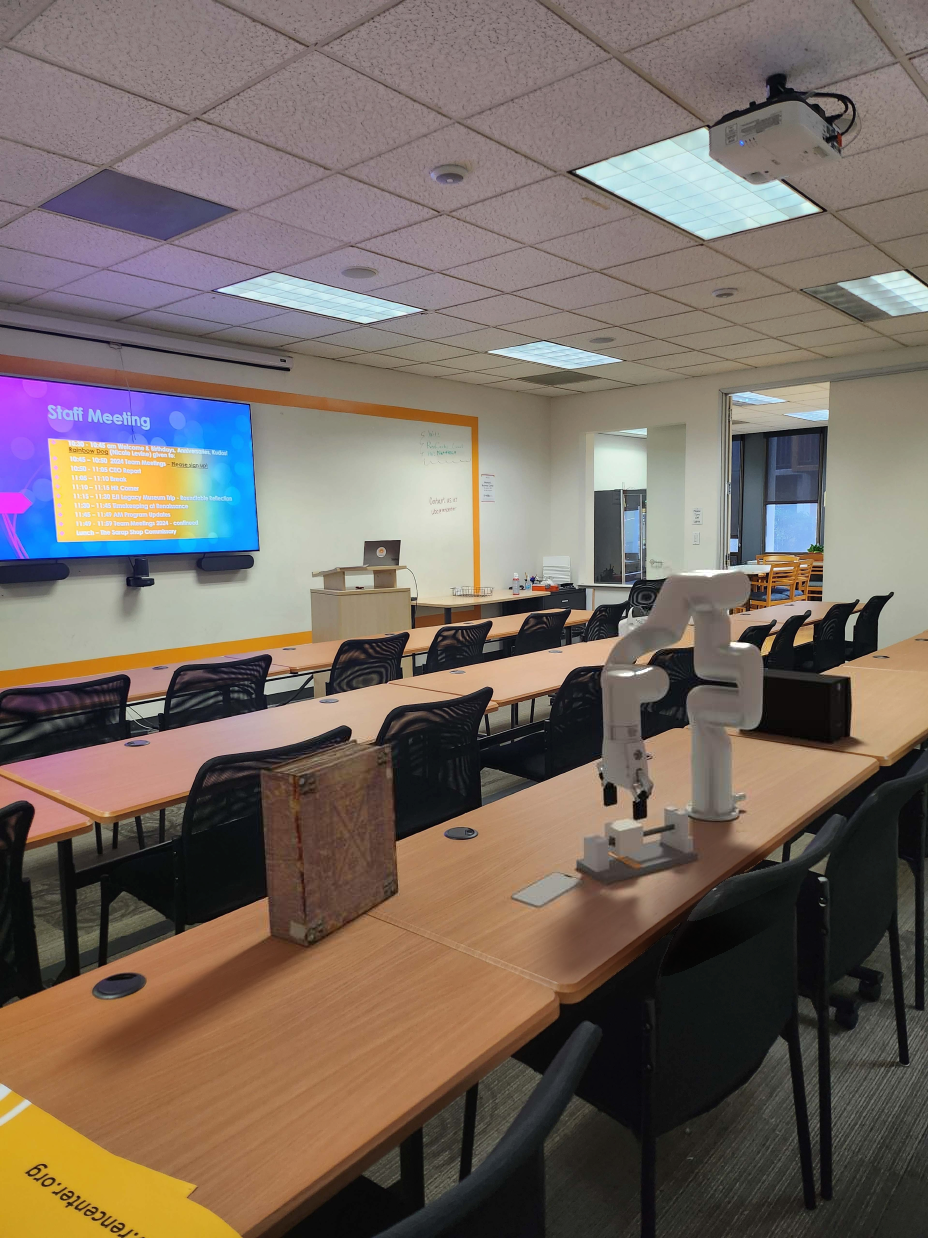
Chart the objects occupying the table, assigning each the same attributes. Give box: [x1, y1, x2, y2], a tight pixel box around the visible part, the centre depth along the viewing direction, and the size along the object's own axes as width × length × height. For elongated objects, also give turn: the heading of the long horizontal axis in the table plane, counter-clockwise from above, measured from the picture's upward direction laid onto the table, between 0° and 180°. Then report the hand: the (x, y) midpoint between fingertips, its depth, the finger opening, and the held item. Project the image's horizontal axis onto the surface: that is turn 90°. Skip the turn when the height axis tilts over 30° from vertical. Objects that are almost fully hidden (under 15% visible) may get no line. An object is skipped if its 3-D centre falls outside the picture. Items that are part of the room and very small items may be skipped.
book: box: [259, 738, 399, 948], centre depth 149 cm, size 25×9×30 cm, turn 147°
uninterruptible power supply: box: [740, 667, 853, 745], centre depth 275 cm, size 16×34×20 cm, turn 41°
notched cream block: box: [604, 818, 644, 858], centre depth 167 cm, size 6×5×6 cm
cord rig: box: [576, 805, 699, 885], centre depth 168 cm, size 24×10×10 cm, turn 117°
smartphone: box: [510, 871, 584, 908], centre depth 157 cm, size 7×1×15 cm
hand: (625, 811), depth 166 cm, fingers open, 9 cm apart
